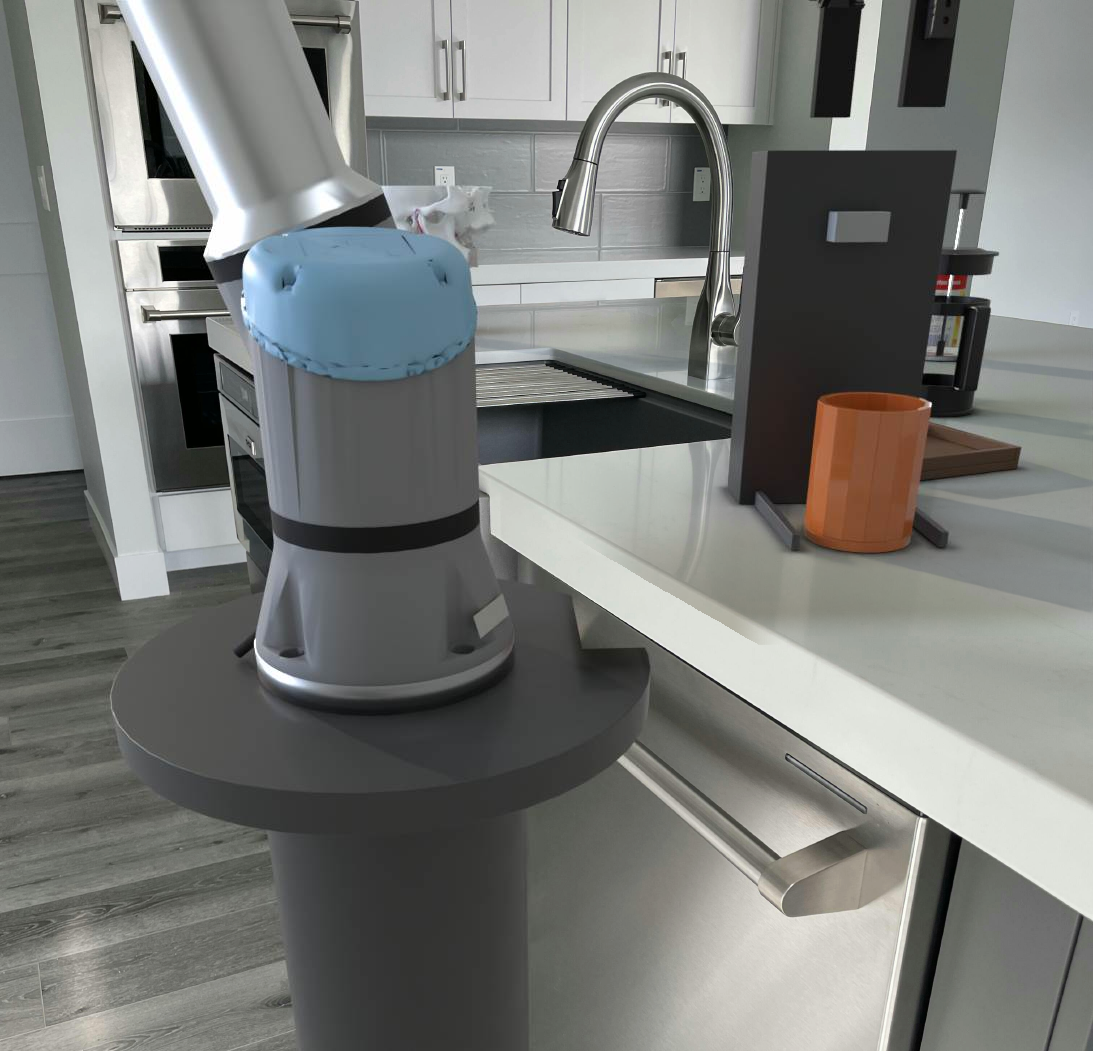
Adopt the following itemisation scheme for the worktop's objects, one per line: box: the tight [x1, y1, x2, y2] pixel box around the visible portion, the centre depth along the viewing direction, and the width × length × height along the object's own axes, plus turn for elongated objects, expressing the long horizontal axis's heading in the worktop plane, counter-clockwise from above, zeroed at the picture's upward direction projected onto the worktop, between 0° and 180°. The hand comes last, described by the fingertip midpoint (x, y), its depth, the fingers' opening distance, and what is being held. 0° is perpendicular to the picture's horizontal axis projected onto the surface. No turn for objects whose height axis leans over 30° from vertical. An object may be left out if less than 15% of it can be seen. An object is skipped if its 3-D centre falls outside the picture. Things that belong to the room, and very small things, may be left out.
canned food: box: [927, 275, 968, 348], centre depth 159 cm, size 8×8×12 cm
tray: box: [920, 421, 1022, 481], centre depth 103 cm, size 13×13×2 cm
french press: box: [920, 188, 1000, 418], centre depth 120 cm, size 12×9×23 cm
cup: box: [803, 392, 932, 554], centre depth 79 cm, size 8×8×10 cm
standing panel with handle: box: [726, 149, 958, 551], centre depth 81 cm, size 14×18×26 cm
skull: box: [380, 185, 498, 269], centre depth 181 cm, size 25×19×23 cm
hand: (871, 113), depth 71 cm, fingers open, 13 cm apart
